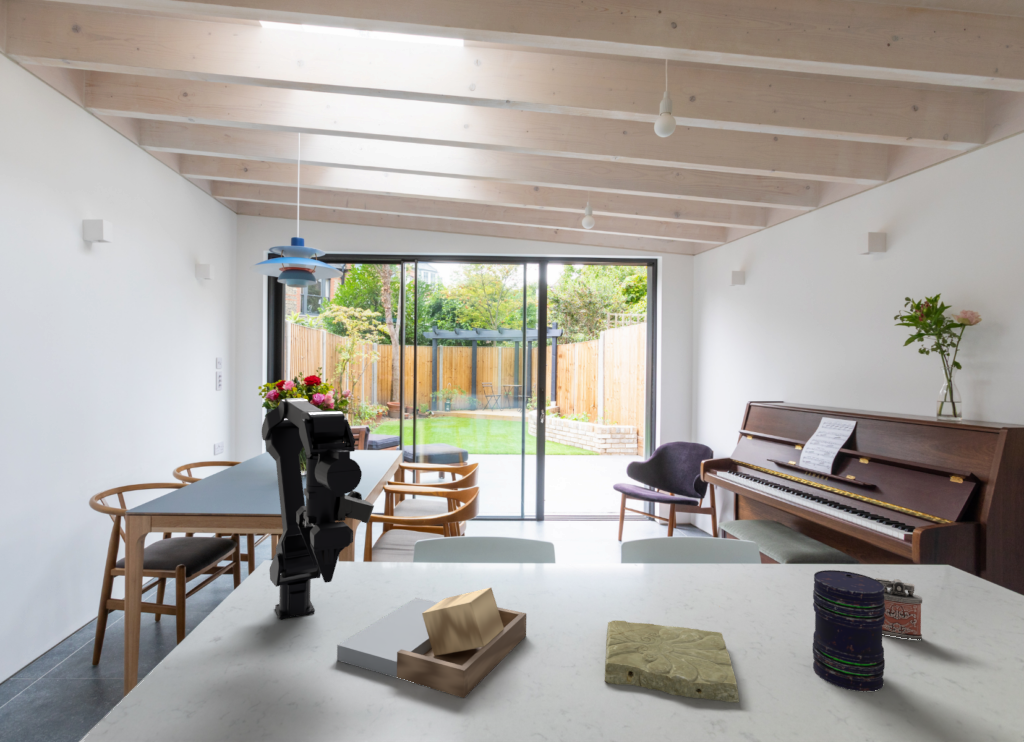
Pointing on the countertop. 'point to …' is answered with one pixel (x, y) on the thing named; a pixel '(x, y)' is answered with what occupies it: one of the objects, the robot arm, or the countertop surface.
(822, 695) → the countertop surface
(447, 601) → the block
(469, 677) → the bin
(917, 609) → the lighter
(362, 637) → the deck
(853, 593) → the dark blue barrel
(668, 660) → the decorative tile
